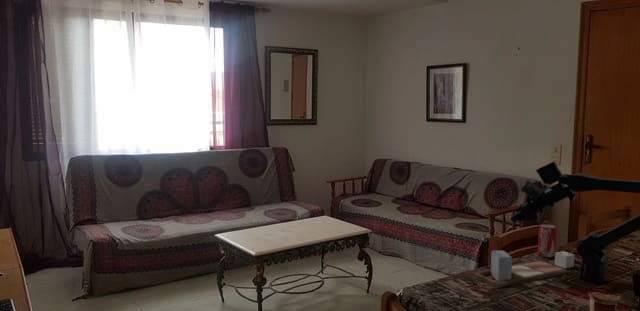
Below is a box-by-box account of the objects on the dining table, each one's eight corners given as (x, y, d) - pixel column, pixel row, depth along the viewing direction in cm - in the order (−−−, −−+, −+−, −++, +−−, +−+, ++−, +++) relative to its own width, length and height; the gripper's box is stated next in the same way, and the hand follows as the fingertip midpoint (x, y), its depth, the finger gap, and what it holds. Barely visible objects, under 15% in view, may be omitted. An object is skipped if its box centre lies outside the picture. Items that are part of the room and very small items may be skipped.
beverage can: (557, 258, 186) (559, 228, 185) (539, 257, 188) (541, 227, 186) (552, 254, 192) (554, 224, 191) (535, 252, 194) (537, 223, 192)
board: (567, 273, 170) (567, 269, 170) (497, 287, 156) (497, 284, 156) (538, 263, 181) (539, 259, 181) (471, 275, 167) (471, 272, 167)
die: (573, 266, 177) (574, 254, 177) (565, 268, 175) (566, 256, 175) (562, 263, 181) (563, 251, 181) (554, 264, 179) (555, 252, 179)
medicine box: (511, 282, 161) (512, 257, 160) (497, 282, 161) (499, 257, 160) (503, 274, 169) (504, 250, 168) (490, 274, 169) (491, 250, 168)
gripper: (542, 169, 179) (506, 189, 188) (533, 184, 163) (494, 205, 172) (561, 194, 177) (523, 213, 186) (554, 212, 162) (513, 231, 171)
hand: (513, 215), depth 179 cm, fingers open, 9 cm apart
